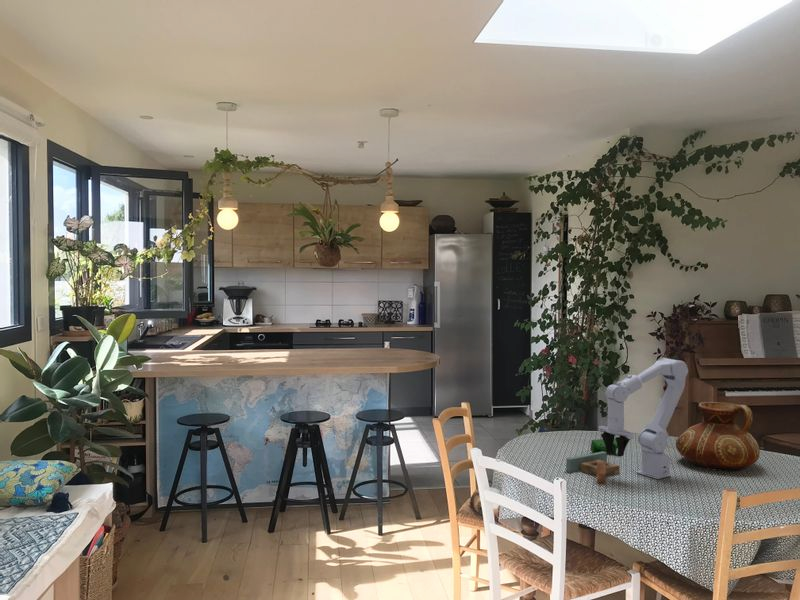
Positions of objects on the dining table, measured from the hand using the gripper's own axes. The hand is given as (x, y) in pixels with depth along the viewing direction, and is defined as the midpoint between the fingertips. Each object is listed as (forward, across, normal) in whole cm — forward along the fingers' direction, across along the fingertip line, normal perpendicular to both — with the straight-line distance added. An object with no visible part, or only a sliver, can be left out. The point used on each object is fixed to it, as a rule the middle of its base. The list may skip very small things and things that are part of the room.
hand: (615, 454), depth 241 cm
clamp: (+9, -24, +23) cm, 35 cm away
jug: (+9, +8, +49) cm, 50 cm away
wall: (+8, -14, 0) cm, 16 cm away
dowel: (+8, +2, -9) cm, 12 cm away
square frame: (+8, -7, 0) cm, 11 cm away
